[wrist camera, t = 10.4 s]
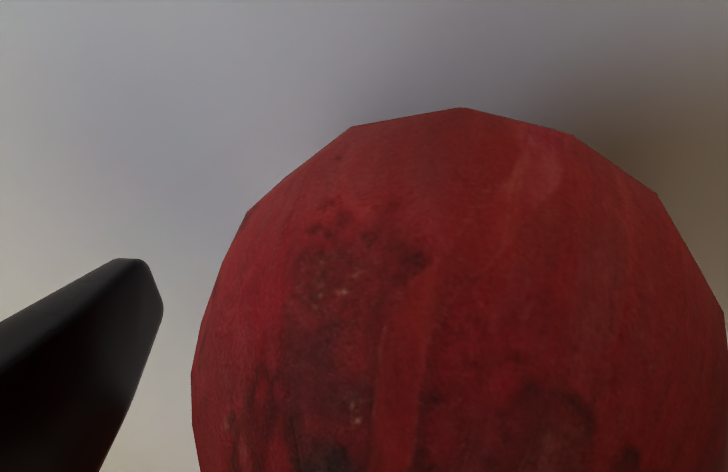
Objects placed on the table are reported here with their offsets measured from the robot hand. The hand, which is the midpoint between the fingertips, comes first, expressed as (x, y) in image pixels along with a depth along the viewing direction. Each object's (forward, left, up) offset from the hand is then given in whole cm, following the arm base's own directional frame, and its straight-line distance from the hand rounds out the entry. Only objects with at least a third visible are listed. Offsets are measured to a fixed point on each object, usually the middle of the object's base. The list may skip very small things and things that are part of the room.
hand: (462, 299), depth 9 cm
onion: (0, 0, -3) cm, 3 cm away
